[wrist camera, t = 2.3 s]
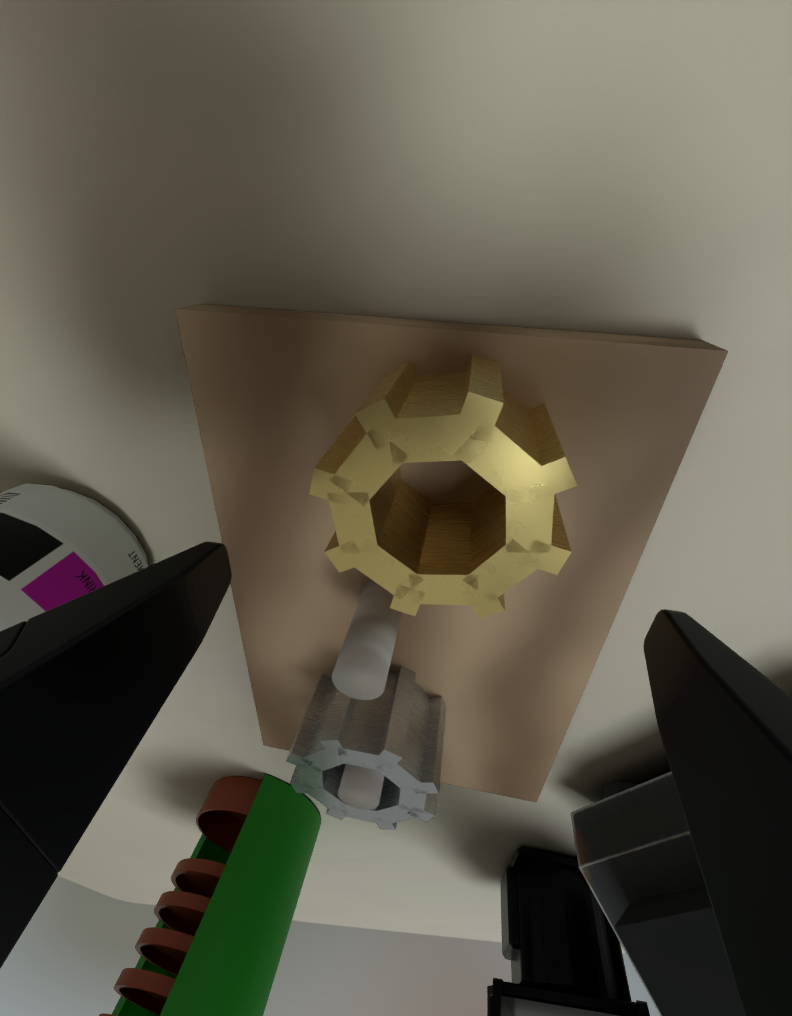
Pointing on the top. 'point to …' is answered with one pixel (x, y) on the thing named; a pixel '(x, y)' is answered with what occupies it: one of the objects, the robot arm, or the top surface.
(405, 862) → the top surface
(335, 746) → the steel gear
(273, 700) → the board
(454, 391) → the brass gear
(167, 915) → the motor
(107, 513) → the supplement can
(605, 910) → the voltmeter
